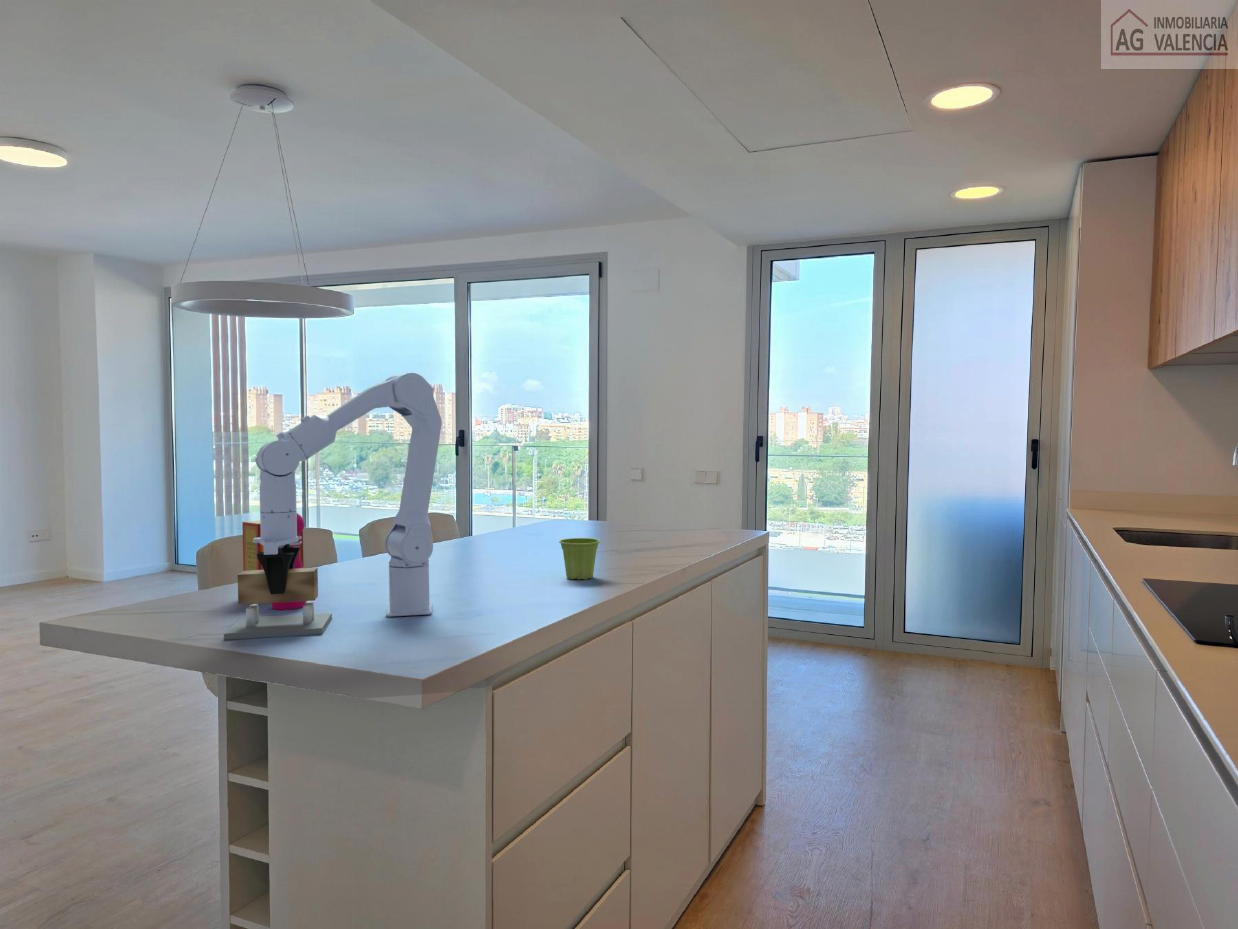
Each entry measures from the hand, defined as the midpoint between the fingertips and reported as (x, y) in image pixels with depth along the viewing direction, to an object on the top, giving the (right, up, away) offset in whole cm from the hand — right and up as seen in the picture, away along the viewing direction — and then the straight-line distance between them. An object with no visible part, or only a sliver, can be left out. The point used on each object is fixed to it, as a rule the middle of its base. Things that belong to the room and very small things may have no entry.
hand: (280, 591), depth 136 cm
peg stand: (0, -6, 0) cm, 6 cm away
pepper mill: (-6, -6, +18) cm, 20 cm away
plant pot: (+49, -5, +48) cm, 69 cm away
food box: (-14, -6, +29) cm, 32 cm away
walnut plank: (0, -2, 0) cm, 2 cm away
